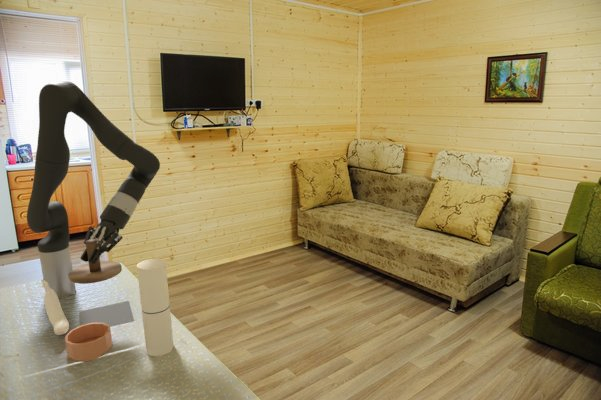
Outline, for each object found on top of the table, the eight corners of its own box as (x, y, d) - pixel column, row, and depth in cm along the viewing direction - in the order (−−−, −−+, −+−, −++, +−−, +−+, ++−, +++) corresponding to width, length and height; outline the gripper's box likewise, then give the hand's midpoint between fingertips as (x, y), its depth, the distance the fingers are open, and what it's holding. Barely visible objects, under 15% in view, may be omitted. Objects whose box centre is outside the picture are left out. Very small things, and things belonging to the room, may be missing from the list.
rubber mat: (79, 312, 135) (79, 311, 135) (128, 302, 142) (128, 300, 142) (79, 335, 122) (79, 333, 122) (134, 322, 129) (134, 320, 129)
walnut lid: (68, 270, 125) (63, 238, 122) (119, 260, 131) (115, 230, 129) (69, 287, 113) (63, 253, 111) (124, 276, 119) (120, 243, 117)
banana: (57, 347, 116) (49, 299, 113) (43, 321, 130) (36, 277, 127) (76, 340, 119) (69, 293, 116) (61, 315, 133) (54, 273, 130)
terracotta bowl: (68, 344, 117) (65, 328, 116) (110, 334, 122) (108, 318, 121) (67, 366, 108) (64, 349, 107) (113, 353, 113) (111, 337, 112)
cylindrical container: (148, 359, 110) (138, 271, 104) (144, 345, 117) (135, 261, 111) (175, 351, 114) (167, 265, 108) (170, 338, 120) (163, 256, 114)
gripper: (96, 201, 127) (62, 251, 120) (125, 206, 120) (92, 260, 113) (113, 213, 133) (82, 262, 126) (143, 219, 126) (111, 271, 119)
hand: (87, 261), depth 119 cm, fingers closed on walnut lid, 3 cm apart
